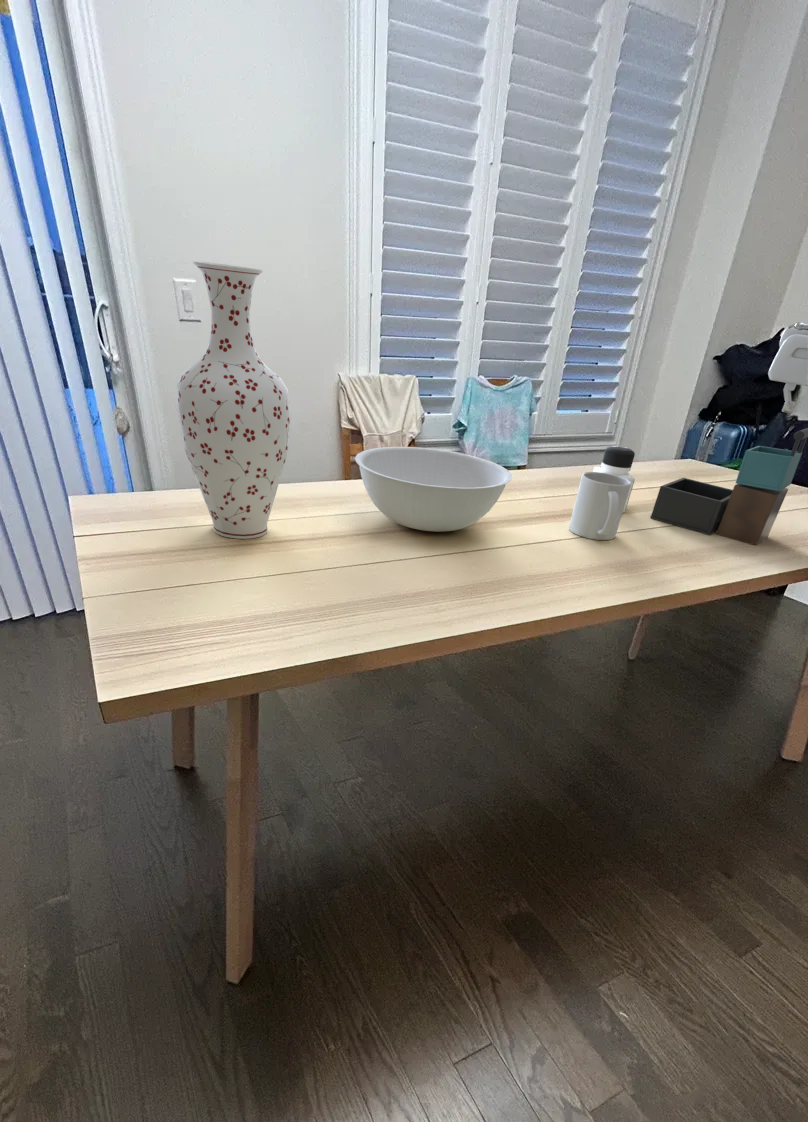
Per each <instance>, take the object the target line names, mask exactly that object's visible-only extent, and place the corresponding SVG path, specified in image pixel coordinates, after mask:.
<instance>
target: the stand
mask: <svg viewBox="0 0 808 1122" xmlns="http://www.w3.org/2000/svg"><path fill="white" fill-rule="evenodd" d="M732 490H733V491H732V494H731V496H730V499H729V501H728V504H727V506H726V509H725V512H724V514H723V517H722V519H721V522H720V525H719V527H718V530H717V531H716V532H715V535H718V536H722V537H726V538H729V539H733V540H736V541H740V542H742V543H747V544H749V545H754V546H758V544H761V542H763V541H764V540H765V539H767V538H768V537H769V535H770V533H771V531H772V528H773V526H774V524H775V522H776V520H777V517H778V514H779V512H780V510H781V509H782V505H783V503H784V500H785V499H786V496H787V495H788V491H789V488H788V487H786V488H784V489H782V490H781V491H776V490H770V489H764V488H759V487H753V486H748V485H742V484H737V483H735V484H734V486H733V488H732Z"/></svg>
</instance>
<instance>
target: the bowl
mask: <svg viewBox="0 0 808 1122" xmlns="http://www.w3.org/2000/svg"><path fill="white" fill-rule="evenodd" d="M354 460H355V463H356V464H357V465H358V466H359V472H360V476H361V480H362V483H363V486H364V488H365V491H366V493H367V495H368V496H369V498H370V500H371V502H372V503H373V504H374V505H375V507H376V508H377V509H378V511H380V512H381V514H383V515H384V516H385V517H386V518H388V519H389V520H391V521H392V522H394V523H397V524H398V525H401V526H404V527H407V528H410V529H413V530H414V529H415V530H418V531H425V532H434V533H435V532H452V531H458V530H461V529H465V528H468V527H469V526H471V525H473V524H475V523H476V522H479V520H481V519H482V518H483V517H485V516H486V515H487V514H488V513H489V512H490V511H491V509H492V508H493V507H494V506H495V504H496V503H497V502H498V500H499V499H500V497H501V496H502V493H503V492H504V490H505V487H506V485H507V484H508V483H510V482H511V481H512V479H513V474H512V473H511V472H510V471H509V470H508V469H507V468H505V467H504V466H503V465H500V464H498V463H496V462H494V461H491V460H488V459H486V458H482V457H478V456H475V455H471V454H466V453H461V452H458V451H451V450H445V449H440V448H439V449H438V448H429V447H421V446H420V447H419V446H418V447H417V446H383V447H375V448H370V449H369V448H368V449H366V450H362V451H360V452H358V453H357V454H356V455H355V456H354Z"/></svg>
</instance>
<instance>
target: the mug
mask: <svg viewBox="0 0 808 1122" xmlns="http://www.w3.org/2000/svg"><path fill="white" fill-rule="evenodd" d="M630 486H631V482H630V481H629V480H628V479H626V478H623V477H620V476H617V475H613V474H608V473H601V472H593V471H588V472H583V473H582V475H581V477H580V481H579V485H578V490H577V494H576V497H575V501H574V505H573V510H572V514H571V517H570V522H569V525H568V529H569V531H570V532H571V533H573V534H575V535H576V536H580V537H581V538H586V539H589V540H595V541H596V540H597V541H609V540H614V539H615V538H616V536H617V532H618V530H619V526H620V523H621V519H622V516H623V513H624V512H623V509H624V506H625V503H626V499H627V496H628V493H629V489H630Z"/></svg>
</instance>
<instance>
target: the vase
mask: <svg viewBox="0 0 808 1122" xmlns="http://www.w3.org/2000/svg"><path fill="white" fill-rule="evenodd" d="M192 264H193V265H194V266H196V267H197V268H198V269H199V271H200V272H201V274H202V277H203V279H204V283H205V286H206V291H207V295H208V301H209V305H210V310H211V312H210V314H211V316H210V317H211V318H210V319H211V330H210V335H209V340H208V345H207V348H206V350H205V352H204V354H203V355H202V356H201V357H200V359H198V361H196V362H195V363H193V364H192V365H191V366H189V367H188V368H186V369H184V370H183V372H182V373H181V375H180V377H179V379H178V381H177V382H176V411H177V417H178V423H179V429H180V433H181V434H180V435H181V439H182V445H183V449H184V451H185V454H186V457H187V460H188V462H189V464H190V467H191V470H192V472H193V475H194V477H195V480H196V482H197V485H198V487H199V491H200V493H201V495H202V498H203V500H204V503H205V506H206V508H207V511H208V513H209V516H210V518H211V522H212V531H214V532H215V534H217V535H220V536H221V537H223V538H224V537H225V538H229V539H238V540H246V539H247V540H248V539H249V540H250V539H256V538H259V537H263V536H265V535H266V534H267V533H268V522H269V519H270V515H271V512H272V508H273V504H274V501H275V498H276V494H277V491H278V488H279V485H280V480H281V477H282V473H283V471H284V468H285V464H286V460H287V456H288V452H289V441H290V440H289V439H290V425H291V414H292V413H291V412H292V411H291V404H290V403H291V402H290V395H289V393H290V392H289V389H288V387H287V385H286V384H285V382H284V380H283V379H282V377H281V376H279V375H278V374H277V373H276V372H274V371H273V370H272V369H271V368H269V366H267V365H266V363H265V362H264V361H263V360H262V358H261V357H260V355H259V353H258V351H257V349H256V346H255V343H254V339H253V335H252V329H251V327H252V326H251V317H250V315H251V314H250V312H251V303H252V295H253V288H254V285H255V282H256V278H257V277H258V276H260V274H263V272H264V269H260V268H253V267H246V266H244V267H243V266H239V265H232V264H223V263H215V262H208V261H199V260H193V261H192Z"/></svg>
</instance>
